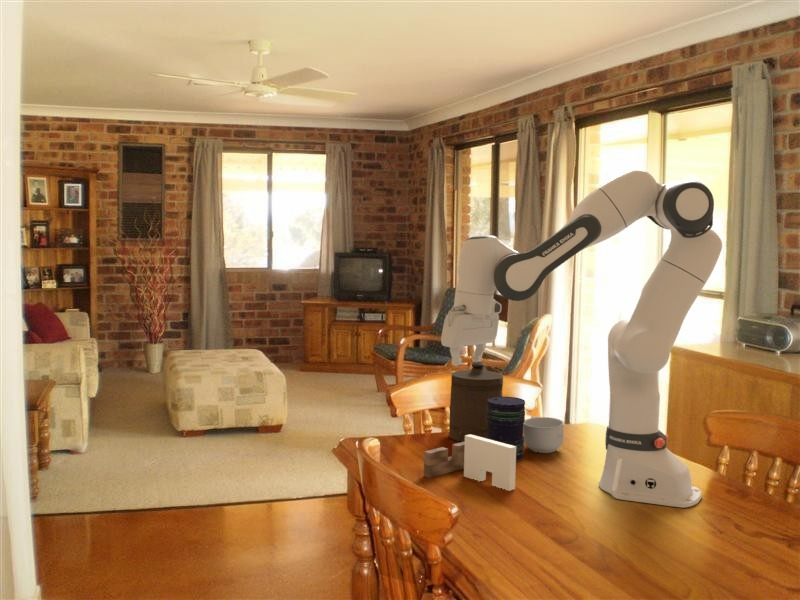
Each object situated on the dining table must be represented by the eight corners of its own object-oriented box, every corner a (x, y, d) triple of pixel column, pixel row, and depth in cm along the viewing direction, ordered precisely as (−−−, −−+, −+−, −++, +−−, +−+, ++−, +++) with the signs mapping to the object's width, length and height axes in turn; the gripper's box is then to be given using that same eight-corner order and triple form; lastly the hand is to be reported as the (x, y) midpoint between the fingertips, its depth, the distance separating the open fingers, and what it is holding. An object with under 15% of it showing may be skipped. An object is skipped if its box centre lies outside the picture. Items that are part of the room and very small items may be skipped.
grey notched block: (468, 463, 207) (469, 440, 207) (474, 465, 206) (475, 441, 205) (423, 476, 196) (424, 451, 196) (429, 478, 195) (430, 453, 194)
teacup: (566, 456, 216) (567, 426, 215) (524, 455, 216) (525, 425, 215) (556, 442, 229) (557, 414, 229) (518, 441, 230) (519, 413, 229)
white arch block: (514, 489, 188) (516, 446, 187) (509, 491, 187) (510, 448, 186) (469, 474, 198) (470, 434, 197) (463, 476, 197) (464, 435, 196)
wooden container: (497, 431, 241) (499, 356, 239) (505, 444, 226) (507, 365, 224) (446, 430, 240) (448, 356, 238) (451, 444, 225) (453, 365, 223)
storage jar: (528, 454, 216) (530, 399, 215) (516, 464, 208) (518, 406, 206) (493, 449, 221) (495, 394, 219) (479, 458, 212) (481, 401, 211)
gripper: (462, 308, 179) (455, 370, 180) (505, 305, 196) (498, 362, 197) (438, 304, 182) (431, 365, 184) (482, 301, 199) (475, 357, 200)
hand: (466, 363), depth 190 cm, fingers open, 8 cm apart
